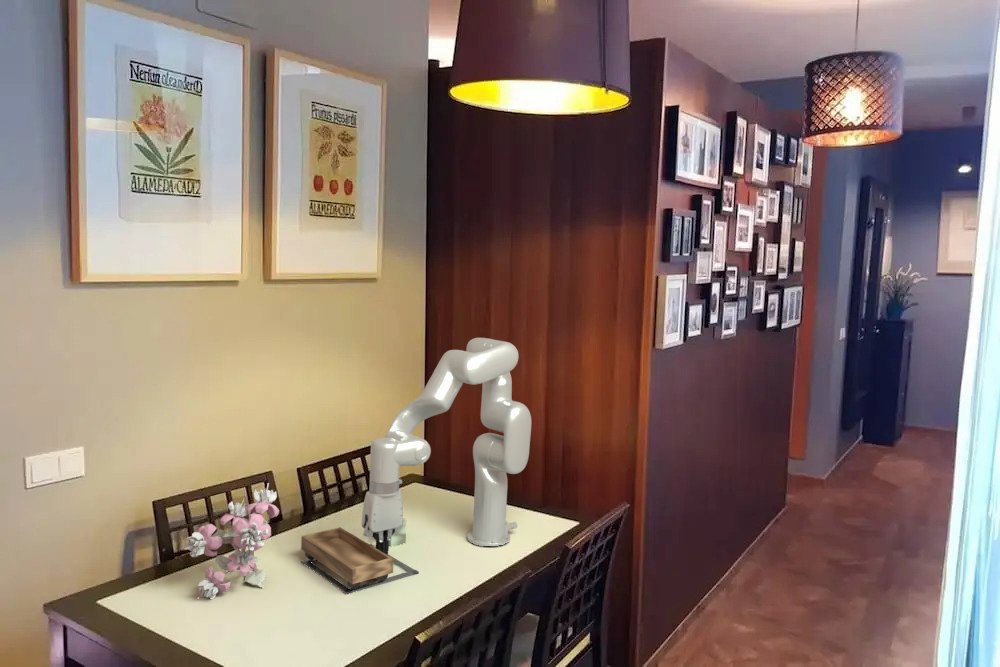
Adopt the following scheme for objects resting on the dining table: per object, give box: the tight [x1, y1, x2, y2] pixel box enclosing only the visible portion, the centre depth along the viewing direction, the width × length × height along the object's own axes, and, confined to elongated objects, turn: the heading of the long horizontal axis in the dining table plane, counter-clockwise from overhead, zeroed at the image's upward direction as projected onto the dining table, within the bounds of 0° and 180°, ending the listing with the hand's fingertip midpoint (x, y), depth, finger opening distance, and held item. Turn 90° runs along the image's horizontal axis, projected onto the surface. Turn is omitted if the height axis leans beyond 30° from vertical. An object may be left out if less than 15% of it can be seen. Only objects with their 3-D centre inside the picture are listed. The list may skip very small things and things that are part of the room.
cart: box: [300, 526, 394, 589], centre depth 200 cm, size 12×27×6 cm, turn 41°
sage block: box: [389, 517, 407, 548], centre depth 222 cm, size 5×5×7 cm
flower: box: [183, 482, 280, 600], centre depth 188 cm, size 20×22×25 cm
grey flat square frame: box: [300, 543, 420, 595], centre depth 203 cm, size 22×24×1 cm
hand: (382, 554), depth 201 cm, fingers closed
